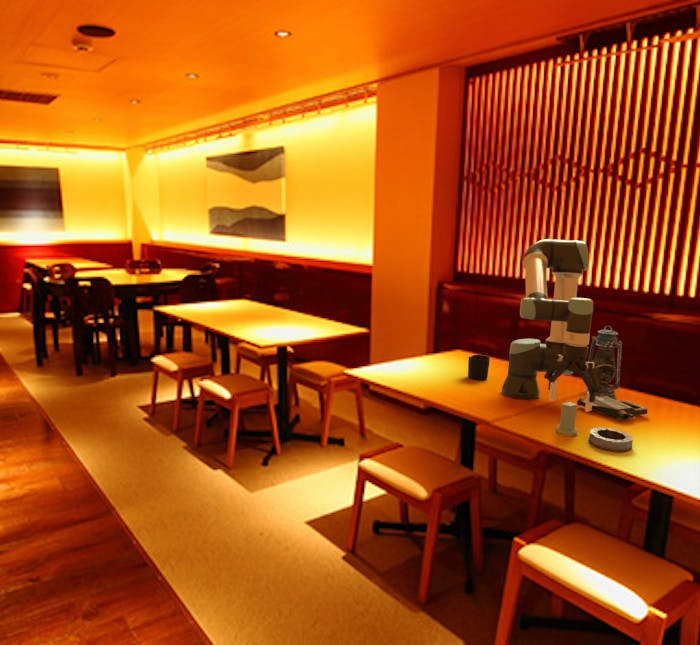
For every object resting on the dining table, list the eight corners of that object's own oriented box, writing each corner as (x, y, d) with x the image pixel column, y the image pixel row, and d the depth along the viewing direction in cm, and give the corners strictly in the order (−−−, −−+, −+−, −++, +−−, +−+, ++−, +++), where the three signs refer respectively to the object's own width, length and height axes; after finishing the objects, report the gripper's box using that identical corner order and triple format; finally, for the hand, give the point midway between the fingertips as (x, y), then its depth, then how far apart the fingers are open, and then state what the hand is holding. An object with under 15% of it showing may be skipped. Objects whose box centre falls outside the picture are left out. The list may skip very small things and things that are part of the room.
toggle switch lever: (551, 430, 193) (554, 402, 191) (563, 427, 197) (566, 399, 196) (569, 437, 188) (572, 408, 186) (581, 433, 192) (584, 405, 190)
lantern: (575, 392, 240) (583, 323, 235) (592, 388, 247) (600, 321, 241) (608, 402, 227) (617, 330, 222) (625, 398, 234) (634, 328, 229)
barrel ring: (580, 441, 185) (581, 432, 184) (602, 434, 192) (603, 424, 192) (618, 455, 174) (619, 445, 174) (639, 447, 182) (641, 437, 181)
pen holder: (491, 381, 252) (493, 359, 250) (471, 381, 251) (472, 359, 249) (483, 375, 261) (485, 354, 260) (464, 375, 260) (465, 354, 258)
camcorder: (625, 425, 203) (627, 411, 202) (574, 408, 219) (576, 395, 218) (648, 417, 212) (650, 404, 211) (598, 402, 228) (599, 390, 227)
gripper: (537, 338, 195) (531, 397, 198) (605, 352, 175) (597, 417, 178) (550, 336, 199) (544, 394, 203) (618, 350, 179) (610, 414, 183)
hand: (569, 405), depth 190 cm, fingers open, 13 cm apart
